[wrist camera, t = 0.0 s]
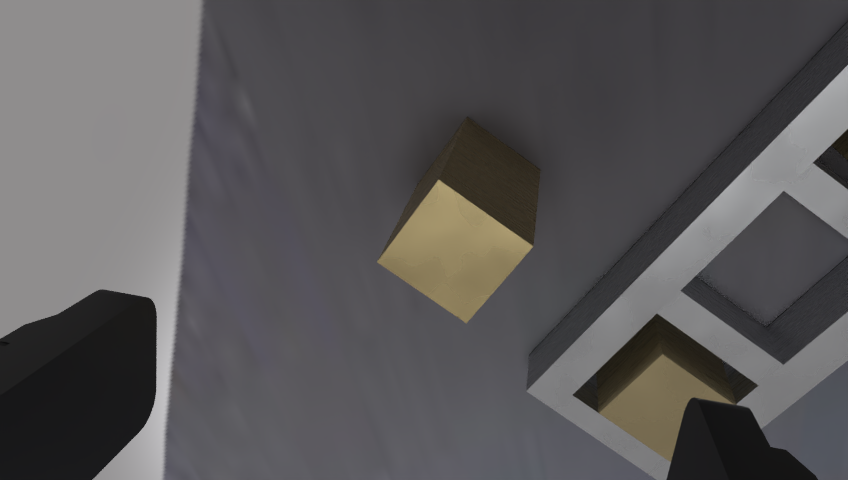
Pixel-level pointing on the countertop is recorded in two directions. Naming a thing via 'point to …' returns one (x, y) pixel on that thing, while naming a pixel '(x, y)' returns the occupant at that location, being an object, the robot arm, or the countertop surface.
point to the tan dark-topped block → (466, 222)
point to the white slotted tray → (710, 291)
